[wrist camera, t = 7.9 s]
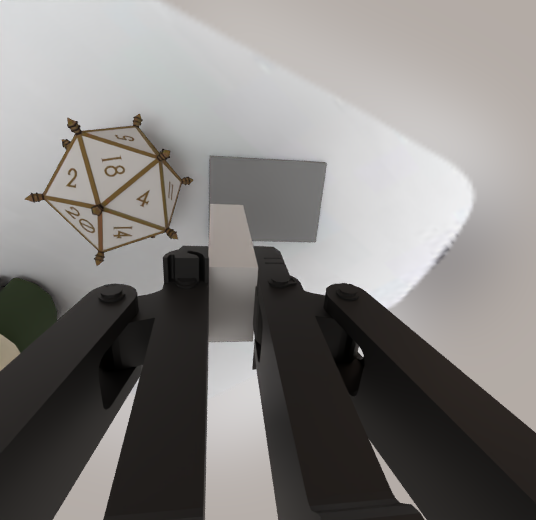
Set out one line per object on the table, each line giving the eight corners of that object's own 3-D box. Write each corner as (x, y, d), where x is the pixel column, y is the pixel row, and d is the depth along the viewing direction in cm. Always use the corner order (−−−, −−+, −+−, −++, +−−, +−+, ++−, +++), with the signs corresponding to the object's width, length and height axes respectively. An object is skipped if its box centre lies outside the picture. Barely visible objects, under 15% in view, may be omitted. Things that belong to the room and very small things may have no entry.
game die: (210, 208, 29) (207, 262, 20) (109, 241, 29) (62, 310, 20) (164, 90, 25) (134, 91, 16) (48, 129, 25) (-46, 151, 16)
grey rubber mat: (208, 237, 30) (208, 240, 29) (209, 155, 27) (209, 157, 27) (313, 239, 31) (315, 242, 31) (324, 162, 29) (326, 163, 28)
